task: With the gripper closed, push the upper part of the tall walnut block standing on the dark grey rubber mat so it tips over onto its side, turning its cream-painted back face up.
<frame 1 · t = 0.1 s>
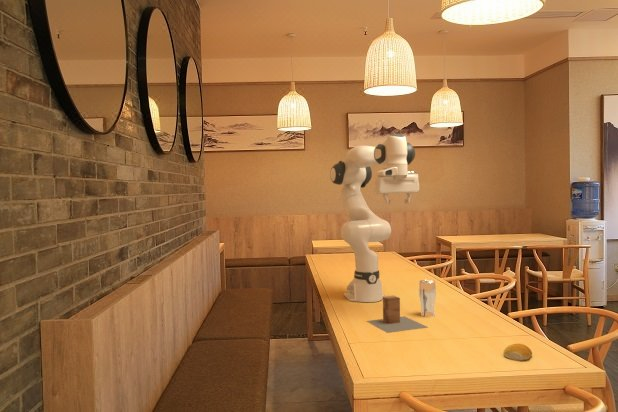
hand: (397, 203, 220), 48 cm above the table, tool pointing down, fingers open, 8 cm apart
beer glass: (427, 316, 217), on the table
rubber mat: (396, 325, 204), on the table
bread roll: (517, 357, 166), on the table
walnut block: (391, 321, 208), point 1 cm above the table, touching rubber mat
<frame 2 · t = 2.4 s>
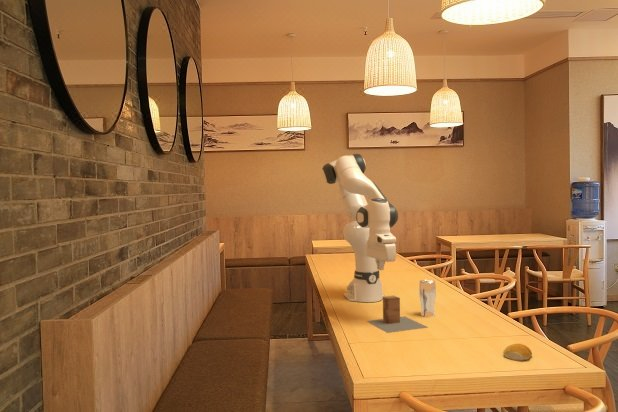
hand: (380, 269, 216), 20 cm above the table, tool pointing down, fingers closed
nothing on the table moved.
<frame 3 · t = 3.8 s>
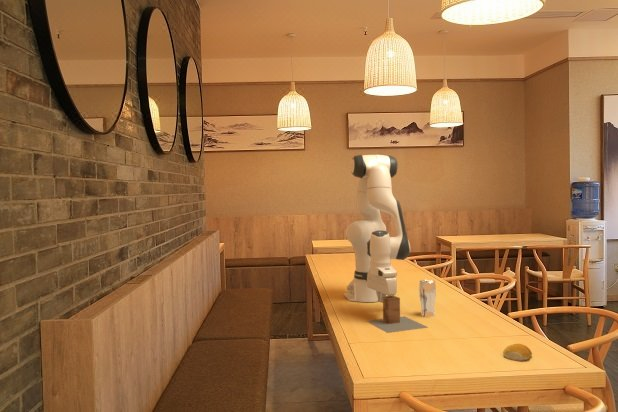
hand: (381, 302, 216), 7 cm above the table, tool pointing down, fingers closed
nothing on the table moved.
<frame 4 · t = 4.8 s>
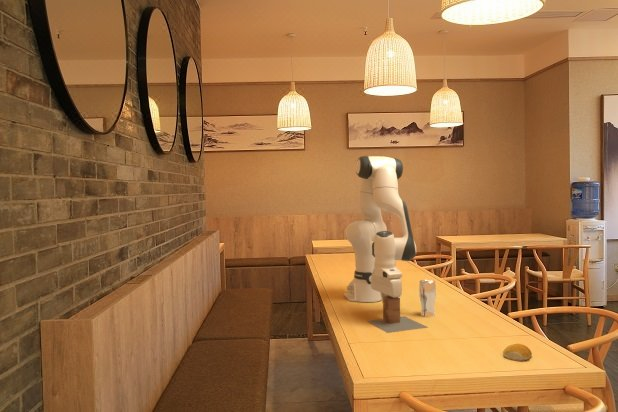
hand: (385, 303, 212), 7 cm above the table, tool pointing down, fingers closed
walnut block: (391, 321, 208), point 1 cm above the table, touching gripper, rubber mat
everything else where it was.
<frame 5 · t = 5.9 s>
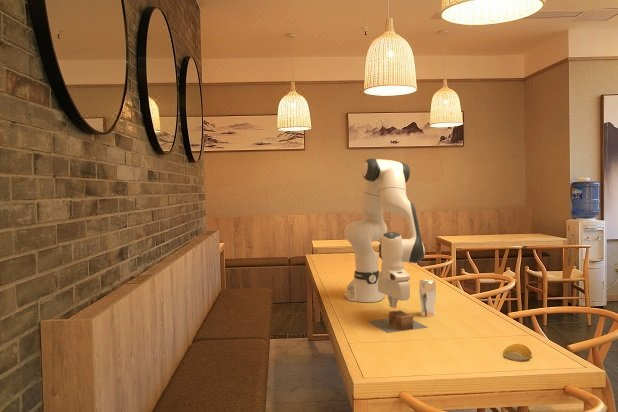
hand: (393, 307, 207), 7 cm above the table, tool pointing down, fingers closed
walnut block: (394, 317, 206), point 3 cm above the table, tilted 90°, touching rubber mat
everything else where it was.
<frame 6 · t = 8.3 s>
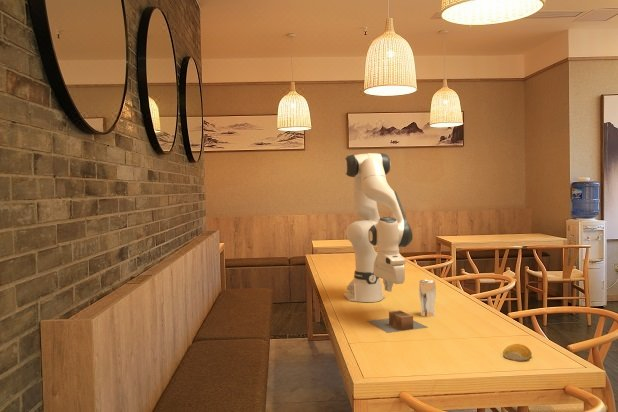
hand: (388, 290, 210), 13 cm above the table, tool pointing down, fingers closed
nothing on the table moved.
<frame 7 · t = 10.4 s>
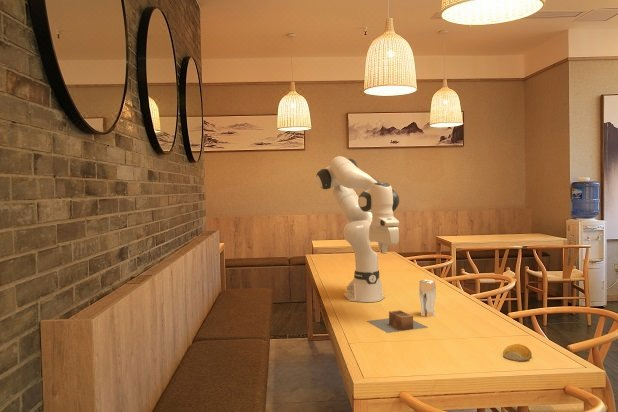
hand: (383, 253, 217), 27 cm above the table, tool pointing down, fingers closed
nothing on the table moved.
at the end: walnut block tilted 90°; walnut block inside the target area (2.0 cm from its centre), point 3.1 cm above the table; walnut block touching rubber mat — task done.
